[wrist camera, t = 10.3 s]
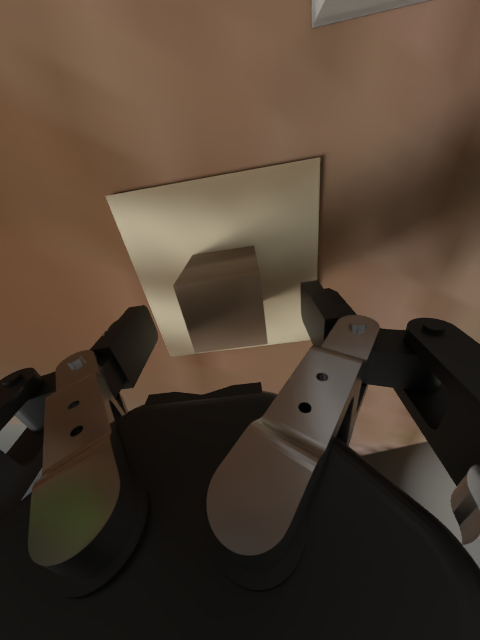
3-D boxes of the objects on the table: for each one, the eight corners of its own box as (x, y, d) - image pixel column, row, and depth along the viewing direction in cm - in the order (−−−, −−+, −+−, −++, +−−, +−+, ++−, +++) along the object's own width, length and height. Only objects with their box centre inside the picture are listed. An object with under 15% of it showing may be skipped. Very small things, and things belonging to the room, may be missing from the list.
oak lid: (113, 195, 14) (39, 203, 9) (314, 158, 13) (364, 144, 8) (173, 349, 20) (150, 407, 15) (312, 332, 19) (338, 387, 14)
